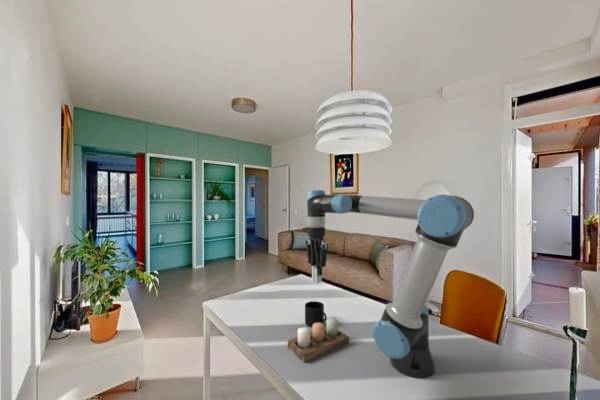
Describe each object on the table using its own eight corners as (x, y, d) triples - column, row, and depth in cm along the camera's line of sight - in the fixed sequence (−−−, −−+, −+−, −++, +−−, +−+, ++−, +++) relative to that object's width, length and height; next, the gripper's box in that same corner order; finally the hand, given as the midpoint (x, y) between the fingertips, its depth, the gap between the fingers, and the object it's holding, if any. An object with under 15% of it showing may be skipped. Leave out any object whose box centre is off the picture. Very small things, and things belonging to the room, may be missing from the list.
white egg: (312, 346, 102) (312, 331, 102) (302, 350, 99) (302, 334, 99) (305, 340, 106) (305, 326, 106) (295, 344, 103) (295, 329, 103)
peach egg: (327, 340, 106) (326, 326, 106) (317, 344, 103) (317, 329, 103) (319, 335, 110) (319, 321, 110) (310, 338, 107) (310, 324, 107)
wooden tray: (348, 343, 108) (348, 336, 108) (304, 362, 95) (304, 354, 95) (330, 331, 118) (330, 325, 118) (287, 347, 105) (287, 340, 105)
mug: (320, 331, 118) (320, 311, 118) (301, 323, 126) (301, 305, 126) (331, 324, 125) (331, 305, 126) (312, 317, 133) (312, 299, 133)
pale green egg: (340, 335, 110) (340, 321, 110) (331, 338, 107) (331, 324, 107) (332, 330, 114) (332, 317, 114) (324, 333, 111) (324, 319, 111)
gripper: (334, 227, 104) (335, 285, 103) (313, 224, 116) (313, 276, 116) (320, 228, 100) (320, 288, 99) (299, 225, 112) (299, 279, 112)
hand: (316, 281), depth 108 cm, fingers open, 2 cm apart
